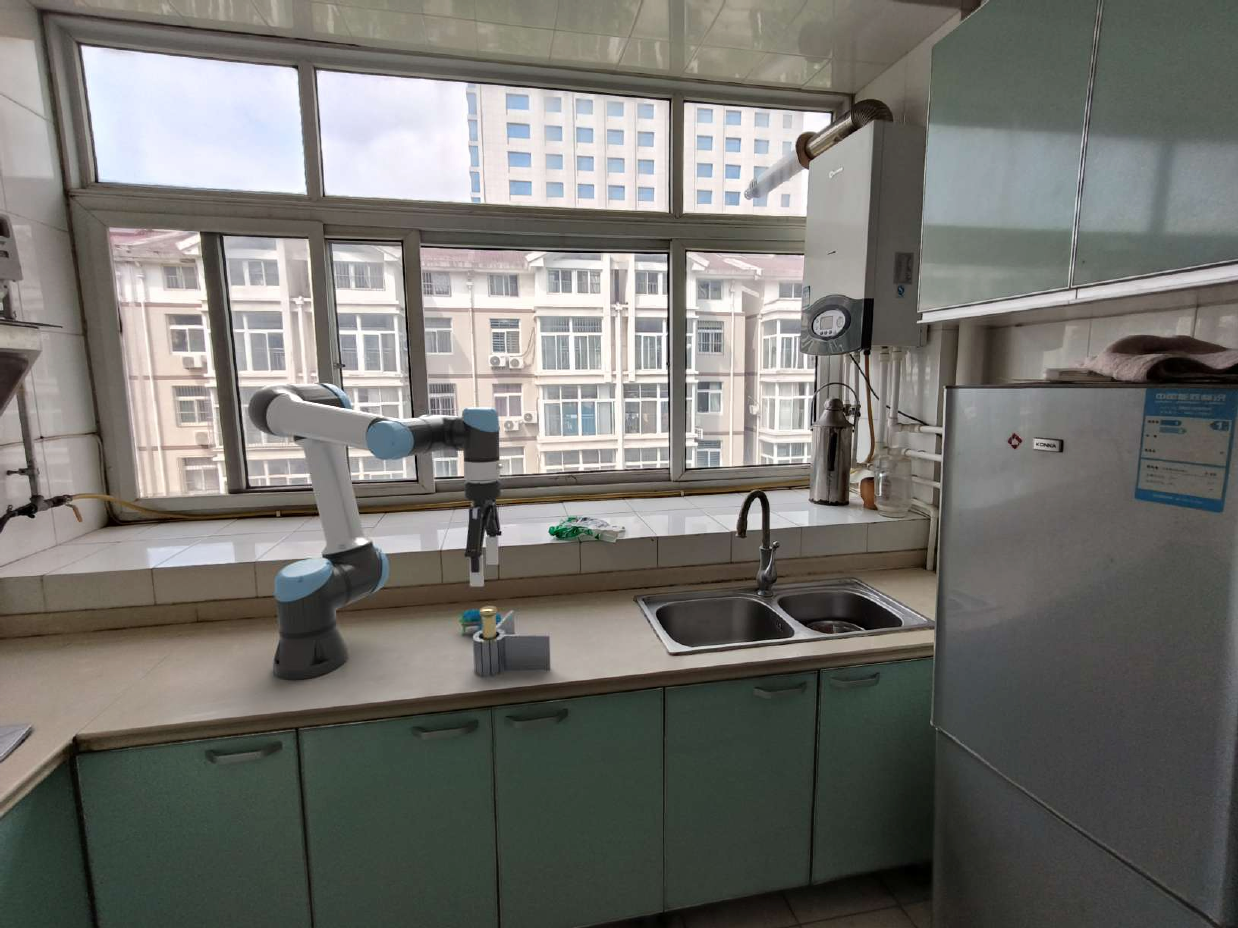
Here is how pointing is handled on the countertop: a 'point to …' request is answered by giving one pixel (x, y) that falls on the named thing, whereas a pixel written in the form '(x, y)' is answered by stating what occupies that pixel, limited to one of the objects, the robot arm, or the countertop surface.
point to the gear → (474, 619)
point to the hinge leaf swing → (507, 623)
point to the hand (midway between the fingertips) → (485, 574)
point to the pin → (488, 622)
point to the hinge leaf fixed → (510, 653)
